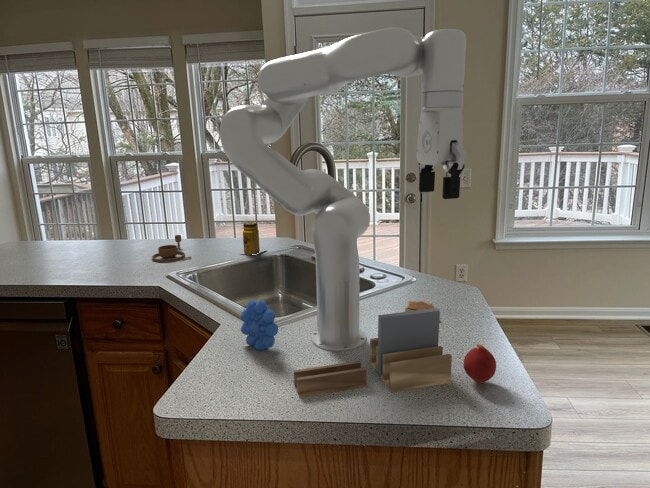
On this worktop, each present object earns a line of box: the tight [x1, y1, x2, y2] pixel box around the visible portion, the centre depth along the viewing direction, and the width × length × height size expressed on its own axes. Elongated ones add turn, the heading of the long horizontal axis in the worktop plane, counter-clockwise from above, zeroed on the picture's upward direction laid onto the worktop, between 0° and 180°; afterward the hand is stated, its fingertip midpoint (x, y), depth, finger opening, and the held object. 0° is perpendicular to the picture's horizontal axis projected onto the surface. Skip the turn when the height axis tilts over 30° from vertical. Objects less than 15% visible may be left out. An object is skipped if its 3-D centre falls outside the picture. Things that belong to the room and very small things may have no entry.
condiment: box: [242, 221, 261, 256], centre depth 180 cm, size 7×8×12 cm
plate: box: [377, 307, 441, 377], centre depth 89 cm, size 1×12×12 cm, turn 104°
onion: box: [462, 343, 497, 384], centre depth 87 cm, size 6×6×8 cm
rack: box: [368, 337, 453, 393], centre depth 90 cm, size 12×12×6 cm
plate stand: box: [292, 360, 369, 399], centre depth 87 cm, size 6×13×4 cm, turn 105°
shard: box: [404, 300, 435, 312], centre depth 120 cm, size 11×8×2 cm
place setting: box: [151, 234, 192, 263], centre depth 179 cm, size 18×20×6 cm
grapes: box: [240, 300, 279, 351], centre depth 101 cm, size 12×7×12 cm, turn 47°
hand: (438, 194), depth 90 cm, fingers open, 9 cm apart
